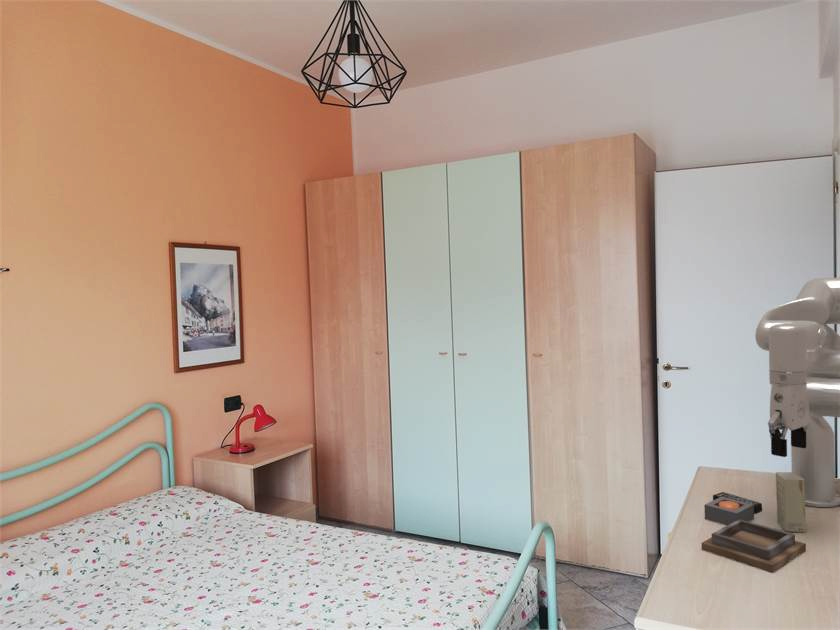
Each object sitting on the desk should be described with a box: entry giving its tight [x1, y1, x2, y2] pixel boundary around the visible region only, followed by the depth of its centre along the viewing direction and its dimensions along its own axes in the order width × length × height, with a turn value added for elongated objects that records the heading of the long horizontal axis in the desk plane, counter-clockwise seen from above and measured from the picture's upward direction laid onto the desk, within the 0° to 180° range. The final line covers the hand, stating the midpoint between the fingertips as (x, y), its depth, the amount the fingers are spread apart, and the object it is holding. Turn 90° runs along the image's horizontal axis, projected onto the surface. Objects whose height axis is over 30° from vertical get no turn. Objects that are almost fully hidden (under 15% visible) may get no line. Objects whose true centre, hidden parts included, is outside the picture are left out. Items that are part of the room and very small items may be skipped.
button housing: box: [704, 497, 755, 526], centre depth 157 cm, size 8×8×4 cm
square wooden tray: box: [701, 519, 807, 574], centre depth 140 cm, size 15×15×4 cm
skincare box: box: [775, 471, 807, 533], centre depth 150 cm, size 6×4×12 cm
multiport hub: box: [712, 491, 763, 515], centre depth 165 cm, size 4×11×2 cm, turn 30°
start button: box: [719, 501, 739, 510], centre depth 157 cm, size 4×4×2 cm
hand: (789, 451), depth 149 cm, fingers open, 9 cm apart
